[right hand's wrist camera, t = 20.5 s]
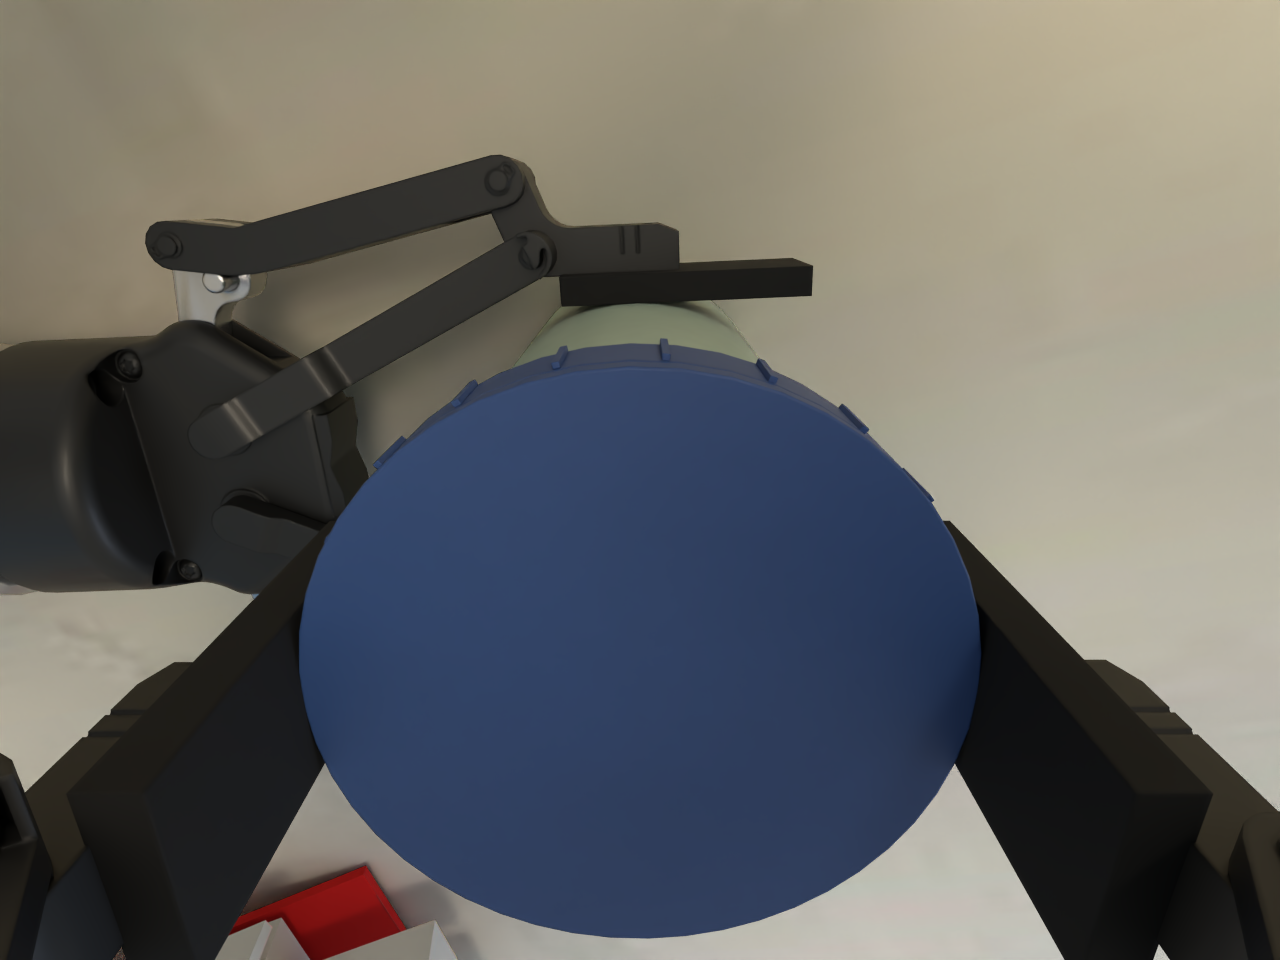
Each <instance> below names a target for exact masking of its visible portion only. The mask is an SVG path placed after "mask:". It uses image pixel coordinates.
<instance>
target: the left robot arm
mask: <svg viewBox="0 0 1280 960" xmlns="http://www.w3.org/2000/svg"><path fill="white" fill-rule="evenodd" d="M488 214H492V216H493V218H494V220H495V223H496V225H497V227H498V229H499V231H500V234H501V236H502V238H503V240H504V243H502V244H500V245H499V246H497V247H495V248H494V249H492V250H490V251H488V252H487V253H485V254H483V255H481V256H480V257H478V258H476V259H475V260H473V261H471V262H469V263H468V264H466V265H464V266H462V267H461V268H459V269H457V270H455V271H454V272H452V273H450V274H449V275H447V276H445V277H443V278H442V279H440V280H438V281H436V282H435V283H433V284H431V285H430V286H428V287H426V288H424V289H423V290H421V291H419V292H417V293H416V294H414V295H412V296H411V297H409V298H407V299H405V300H404V301H402V302H400V303H398V304H397V305H395V306H393V307H392V308H390V309H388V310H386V311H385V312H383V313H381V314H379V315H378V316H376V317H374V318H373V319H371V320H369V321H367V322H366V323H364V324H362V325H360V326H359V327H357V328H355V329H353V330H352V331H350V332H348V333H347V334H345V335H343V336H341V337H340V338H338V339H336V340H334V341H333V342H331V343H329V344H328V345H326V346H324V347H322V348H320V349H318V350H317V351H315V352H313V353H311V354H309V355H307V356H305V357H304V358H302V359H300V358H298V357H296V356H295V355H293V354H291V353H289V352H288V351H286V350H284V349H283V348H281V347H279V346H278V345H276V344H274V343H272V342H271V341H269V340H267V339H266V338H264V337H262V336H261V335H259V334H257V333H256V332H254V331H252V330H251V329H249V328H247V327H245V326H244V325H242V324H240V323H239V322H237V321H235V320H233V319H232V311H233V309H234V306H235V305H236V304H237V303H238V302H239V301H241V300H244V299H248V298H252V297H256V296H257V295H259V294H261V292H262V291H263V290H264V288H265V286H266V279H267V272H269V271H274V270H279V269H284V268H290V267H295V266H300V265H305V264H309V263H313V262H317V261H321V260H324V259H328V258H332V257H335V256H339V255H342V254H346V253H350V252H353V251H357V250H361V249H364V248H368V247H372V246H375V245H379V244H383V243H386V242H390V241H393V240H397V239H401V238H404V237H408V236H412V235H415V234H419V233H423V232H426V231H430V230H433V229H437V228H441V227H444V226H448V225H452V224H455V223H459V222H463V221H466V220H470V219H473V218H477V217H481V216H484V215H488ZM145 244H146V247H147V250H148V253H149V254H150V256H151V257H152V258H153V260H154V261H155V262H156V263H158V264H159V265H160V266H162V267H164V268H167V269H170V270H173V278H174V286H175V294H176V302H177V310H178V318H179V322H177V323H174V324H172V325H170V326H169V327H167V328H166V329H165V330H163V331H162V332H161V333H159V334H158V335H156V336H138V337H116V338H93V339H70V340H47V341H31V342H25V343H20V344H17V345H10V344H3V343H0V595H23V594H27V593H32V592H36V591H41V592H56V593H59V592H86V591H112V590H138V589H156V588H164V587H171V586H177V585H183V584H188V583H195V582H209V583H215V584H219V585H222V586H225V587H228V588H230V589H232V590H235V591H237V592H240V593H245V594H252V596H253V599H255V598H256V597H257V596H258V595H259V594H260V593H261V591H262V590H263V589H264V588H265V587H266V586H267V585H268V584H269V583H270V582H271V581H272V580H273V579H274V578H275V577H276V576H277V575H278V574H279V573H280V572H281V571H282V570H283V569H284V568H285V567H286V566H287V565H288V564H289V563H290V561H291V560H292V559H293V558H294V557H295V556H296V555H297V554H298V553H299V552H300V551H301V550H302V549H303V548H304V547H305V546H306V545H307V544H308V543H309V542H310V541H311V540H312V539H313V538H314V537H315V536H316V535H317V534H318V533H319V532H320V530H321V529H322V528H323V527H324V526H325V525H326V524H327V523H328V522H329V521H337V519H338V517H339V516H340V515H341V513H342V512H343V511H344V509H345V508H346V507H347V505H348V504H349V503H350V501H351V500H352V499H353V497H354V496H355V494H356V493H357V492H358V490H359V489H360V488H361V486H362V485H363V484H364V483H365V482H366V481H367V480H368V479H369V478H368V472H367V468H366V466H365V464H364V462H363V460H362V458H361V456H360V453H359V451H358V449H357V447H356V435H357V423H358V420H357V414H356V409H355V404H354V398H353V397H346V396H345V394H344V393H343V391H342V390H344V389H345V388H347V387H349V386H350V385H352V384H354V383H356V382H358V381H359V380H361V379H363V378H365V377H366V376H368V375H370V374H372V373H374V372H375V371H377V370H379V369H381V368H382V367H384V366H386V365H388V364H389V363H391V362H393V361H395V360H397V359H398V358H400V357H402V356H404V355H405V354H407V353H409V352H411V351H413V350H414V349H416V348H418V347H420V346H421V345H423V344H425V343H427V342H429V341H430V340H432V339H434V338H436V337H437V336H439V335H441V334H443V333H445V332H446V331H448V330H450V329H452V328H453V327H455V326H457V325H459V324H461V323H462V322H464V321H466V320H468V319H469V318H471V317H473V316H475V315H477V314H478V313H480V312H482V311H484V310H485V309H487V308H489V307H491V306H492V305H494V304H496V303H498V302H500V301H501V300H503V299H505V298H507V297H508V296H510V295H512V294H514V293H516V292H517V291H519V290H521V289H523V288H524V287H526V286H528V285H530V284H532V283H533V282H535V281H537V280H539V279H541V278H543V277H558V276H560V277H559V281H560V293H561V306H562V307H570V306H592V305H615V304H636V303H660V302H683V301H706V300H729V299H751V298H774V297H797V296H812V278H813V266H812V265H810V264H807V263H804V262H802V261H799V260H796V259H794V258H782V259H759V260H737V261H715V262H692V263H679V231H678V230H676V229H674V228H671V227H669V226H666V225H663V224H661V223H658V222H657V223H636V224H613V225H592V226H567V225H564V224H561V223H559V222H558V221H556V220H555V219H554V218H553V217H552V216H551V215H550V214H549V212H548V210H547V209H546V207H545V204H544V202H543V200H542V197H541V195H540V193H539V190H538V188H537V186H536V183H535V177H534V175H533V173H532V170H531V169H530V168H529V167H528V166H527V165H526V164H525V163H523V162H520V161H518V160H516V159H513V158H510V157H506V156H503V155H490V156H487V157H483V158H480V159H476V160H473V161H469V162H466V163H462V164H458V165H455V166H451V167H448V168H444V169H441V170H437V171H434V172H430V173H427V174H423V175H419V176H416V177H412V178H409V179H405V180H402V181H398V182H395V183H391V184H388V185H384V186H380V187H377V188H373V189H370V190H366V191H363V192H359V193H356V194H352V195H349V196H345V197H342V198H338V199H334V200H331V201H327V202H324V203H320V204H317V205H313V206H310V207H306V208H303V209H299V210H295V211H292V212H288V213H285V214H281V215H278V216H274V217H271V218H267V219H264V220H260V221H257V222H244V221H234V220H225V219H201V220H178V221H161V222H156V223H155V224H153V225H152V226H150V227H149V229H148V231H147V233H146V240H145Z"/></svg>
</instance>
